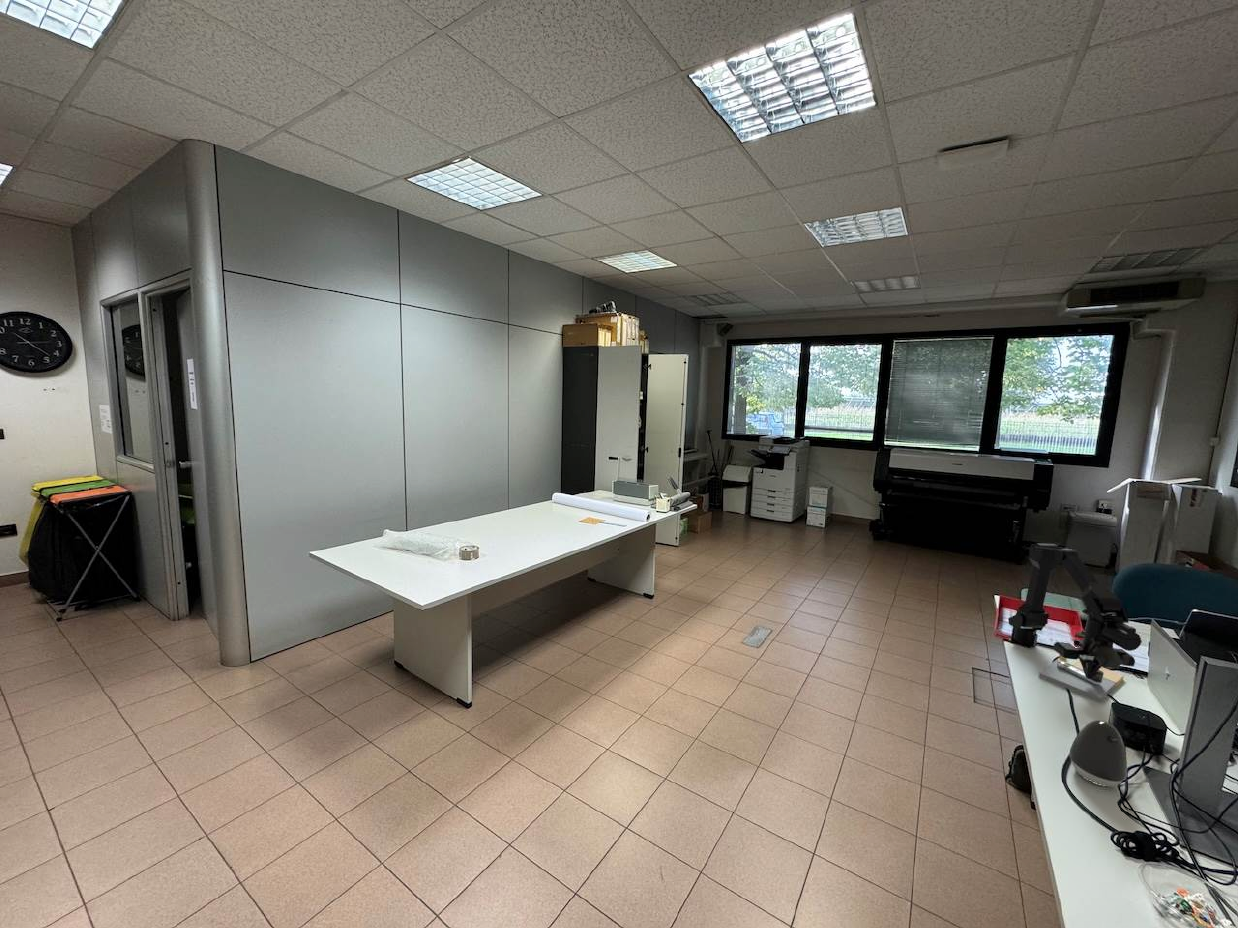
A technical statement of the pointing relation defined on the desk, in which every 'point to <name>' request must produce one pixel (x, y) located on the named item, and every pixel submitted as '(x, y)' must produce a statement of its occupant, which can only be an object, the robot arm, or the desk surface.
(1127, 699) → the desk surface
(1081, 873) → the desk surface
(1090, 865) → the desk surface
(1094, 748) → the egg shaped dome
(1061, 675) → the door board
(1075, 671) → the door handle
